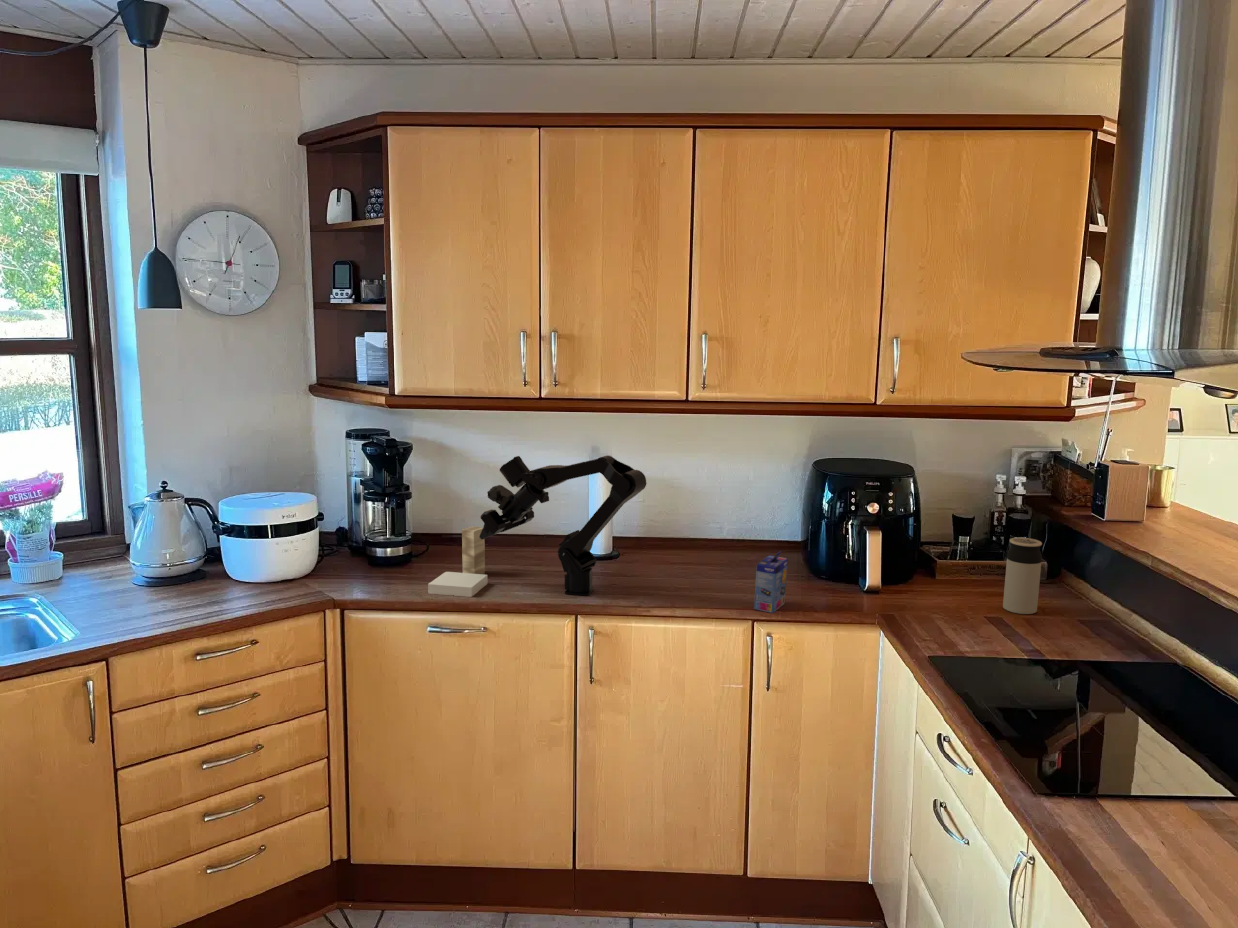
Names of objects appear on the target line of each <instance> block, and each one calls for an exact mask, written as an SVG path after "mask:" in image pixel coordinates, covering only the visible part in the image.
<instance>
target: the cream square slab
mask: <svg viewBox="0 0 1238 928" xmlns="http://www.w3.org/2000/svg"><path fill="white" fill-rule="evenodd" d="M488 578H489V577H488V574H485V573H483V574H471V573H463V572H455V571H445V572H443V573H442V574H440V575H439V576H438V577H436V578H435V579H433V580H431V582H429V583H427V592H428V594H430V595H440V596H441V595H442V596H453V595H454V596H456V597H469V598H472V597H474V596H475V595H476V594H477V593H478V592H479V591H480V590H482V589H483V588H484V587H486V586H487V585H488Z"/></svg>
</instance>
